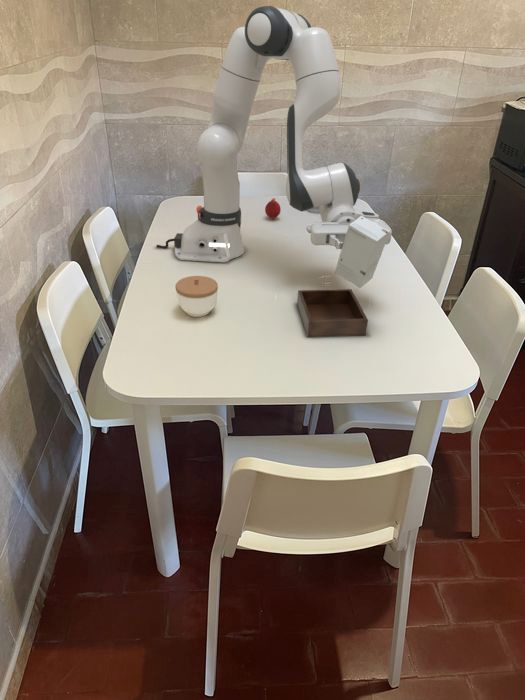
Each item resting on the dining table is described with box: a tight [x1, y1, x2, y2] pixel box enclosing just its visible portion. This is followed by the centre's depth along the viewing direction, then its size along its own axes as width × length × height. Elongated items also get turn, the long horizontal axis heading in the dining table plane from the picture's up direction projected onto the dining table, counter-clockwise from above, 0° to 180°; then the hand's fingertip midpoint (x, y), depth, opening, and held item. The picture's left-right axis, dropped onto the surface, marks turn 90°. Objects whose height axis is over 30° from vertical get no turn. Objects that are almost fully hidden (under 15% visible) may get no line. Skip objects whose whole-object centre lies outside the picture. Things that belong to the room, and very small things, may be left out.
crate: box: [296, 288, 369, 338], centre depth 136 cm, size 15×17×4 cm
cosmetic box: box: [334, 216, 390, 289], centre depth 126 cm, size 8×6×15 cm
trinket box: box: [175, 275, 219, 318], centre depth 136 cm, size 11×11×9 cm
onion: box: [264, 197, 282, 220], centre depth 198 cm, size 6×6×8 cm
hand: (357, 245), depth 127 cm, fingers closed on cosmetic box, 7 cm apart
